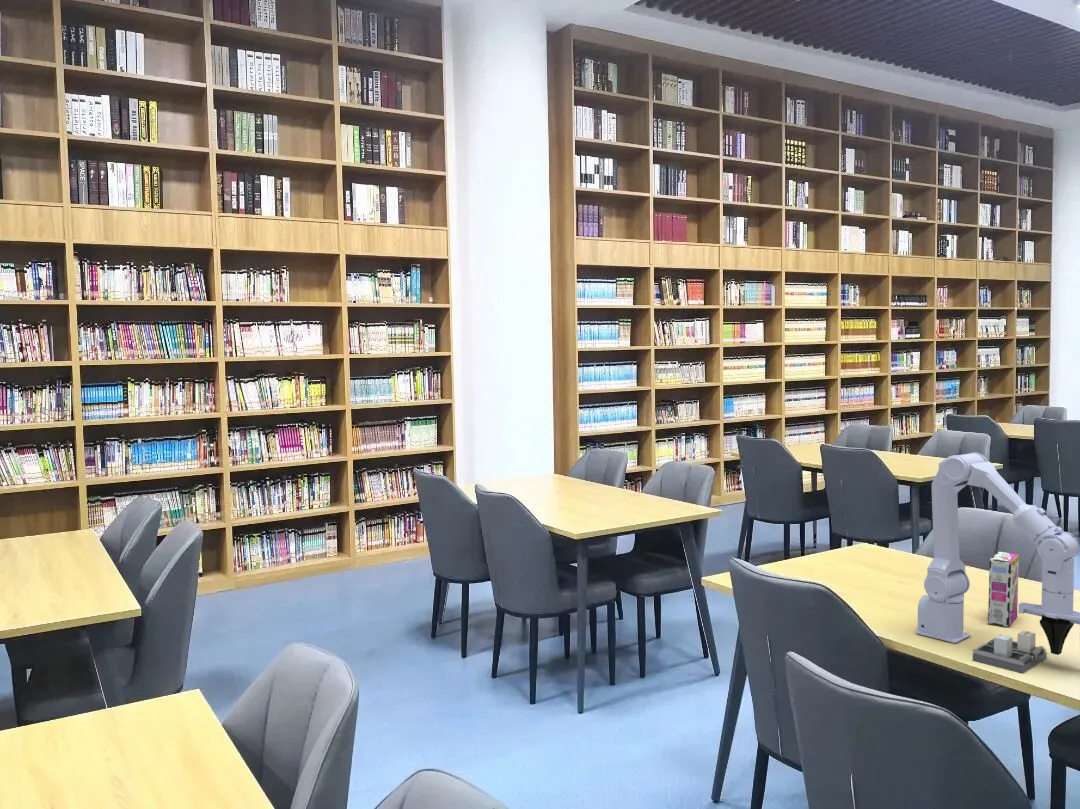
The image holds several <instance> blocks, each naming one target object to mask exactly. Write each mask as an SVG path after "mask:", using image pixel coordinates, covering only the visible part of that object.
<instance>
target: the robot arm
mask: <svg viewBox="0 0 1080 809" xmlns="http://www.w3.org/2000/svg"><path fill="white" fill-rule="evenodd" d="M967 485H968V486H972V487H977V488H983V489H985V490H986V491H987V492H988V493H990V494H991V496H993V497H994V498H995V499H996V500H997V501H999V503H1000V504H1001V505H1003V506H1004V507H1005V508H1006V509H1007V510H1009V512H1010V513H1011V514H1012V517H1013V518H1012V522H1013V523H1014V524H1015V525H1016V526H1017V528H1019V529H1020V530H1021V531H1022V532H1023V533H1024V535H1025V536H1027V537H1028V539H1029V540H1031V542H1032V543H1033V544H1034V545H1036V551H1037V553H1038V556H1039V557H1040V559H1041V561H1042V566H1041V570H1042V571H1041V604H1034V603H1028V602H1023V601H1022V602H1020V603H1018V605H1017V613H1018V614H1028V615H1033V616H1038V617H1041V619H1040V620H1039V625H1040V627H1041V628H1042V630H1043V632H1044V634H1045V636H1046V639H1047V642H1048V645H1049V649H1050V654H1053V655H1056V656H1059V655H1061V654H1062V652H1063V649H1064V648H1063V647H1064V644H1065V641H1066V639H1067V637H1068V635H1069V634H1070V632H1071V630H1072V628H1073V627H1074V625H1075V624H1076V625H1080V612H1079V611H1076V610H1074V593H1075V592H1074V590H1075V589H1074V588H1075V587H1074V586H1075V580H1074V579H1075V557H1076V556H1077V555H1078V554H1079V552H1080V544H1079V542H1078V540H1077V539H1076V537H1075V535H1074V534H1073V533H1071V532H1067V531H1063V528H1062V527H1061V526H1057V525H1056V523H1054V522H1053V521H1052V520H1051V518H1049V517H1048V516H1047V515H1046V510H1045V509H1044V508H1043V507H1037V505H1034V504H1027V503H1026V502H1025V501H1024V499H1022V498H1021V497H1020V495H1019V494H1018V493H1017V492H1016V491H1015V490H1014V489H1013V487H1011V486H1010V484H1008V482H1007V481H1006V480H1005V479H1004V478H1003V477H1002V475H1000V474H999V472H998V471H997V469H996V467H995V465H994V464H993V463H992V462H991V461H988V459H987V458H986V456H984V455H983V454H981V453H979V452H976V451H975V452H969V453H965V454H958V455H956V454H955V455H950V456H948V457H946V458H944V459H943V460H941V461H940V462H939V463H938V471H937V472H936V475H935V477H934V478H933V480H932V482H931V509H932V510H931V511H932V536H933V538H932V539H933V540H932V542H933V544H932V545H933V559H932V560H931V562H930V563H929V565H928V567H927V568H926V569H927V571H926V572H927V573H926V574H927V575H926V577H925V579H924V581H923V588H924V591H925V593H926V594H924V595H922V596H921V597H920V598H919V600H918V605H917V630H916V632H915V633H916V634H917V635H922V636H926V637H929V638H933V639H937V640H941V641H946V642H949V643H952V644H953V643H954V644H957V643H959V642H962V641H963V640H965V639H967V638H969V637H971V633H968V632H965V631H964V611H965V610H964V603H965V602H964V600H965V594H966V593H967V592H968V591H969V589H970V585H971V582H970V579H969V576H968V574H967V572H966V565H965V563H964V562H963V561H962V560H961V559H960V540H959V539H960V538H959V536H960V534H959V532H960V531H959V508H958V505H959V504H958V500H959V499H958V493H959V492H960V491H961V490H962V489H964V488H965V487H967Z"/></svg>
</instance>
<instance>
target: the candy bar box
mask: <svg viewBox="0 0 1080 809" xmlns="http://www.w3.org/2000/svg"><path fill="white" fill-rule="evenodd" d="M1019 564H1020V554H1019V553H1014V552H1013V553H1012V552H1005V551H998V552H997V553H996V554H994V555H993V556H992V557H991V558H990V559H989V572H988V574H989V578H988V603H987V605H988V609H987V610H988V611H987V613H988V614H987V624H989V625H993V626H998V627H1003V628H1009V627H1010V626H1011V625H1012V623H1013V622H1014V621H1015V619H1017V617H1018V604H1019V603H1018V599H1019V598H1018V597H1019V571H1020V570H1019V569H1020V568H1019V567H1020V565H1019Z"/></svg>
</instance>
